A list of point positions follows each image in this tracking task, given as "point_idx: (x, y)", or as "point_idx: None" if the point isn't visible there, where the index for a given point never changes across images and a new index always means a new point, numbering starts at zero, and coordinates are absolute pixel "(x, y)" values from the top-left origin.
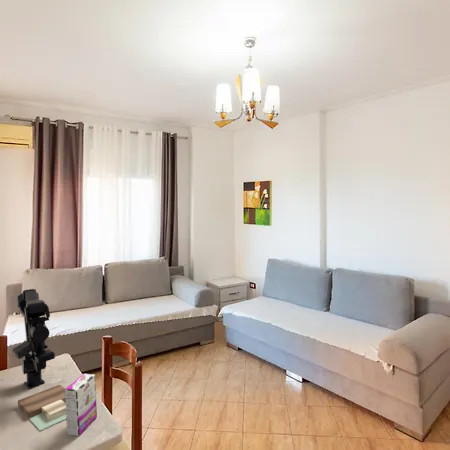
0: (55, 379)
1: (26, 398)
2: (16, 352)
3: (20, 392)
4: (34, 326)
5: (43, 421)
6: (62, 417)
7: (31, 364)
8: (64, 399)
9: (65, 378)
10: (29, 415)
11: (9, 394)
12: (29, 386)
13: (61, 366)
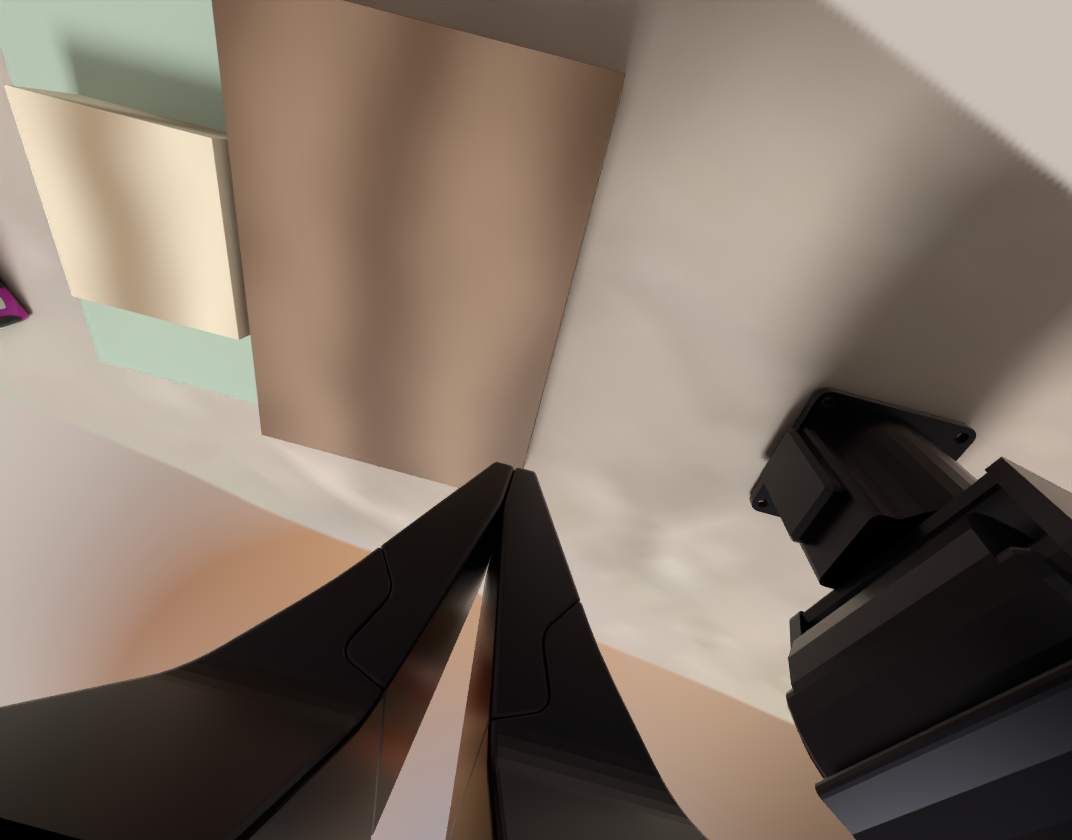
0: (707, 559)
1: (564, 177)
2: None
3: (863, 302)
4: None
5: (108, 51)
6: None
7: (940, 616)
8: (263, 367)
9: (641, 587)
10: None
11: (978, 211)
12: (839, 405)
13: None
